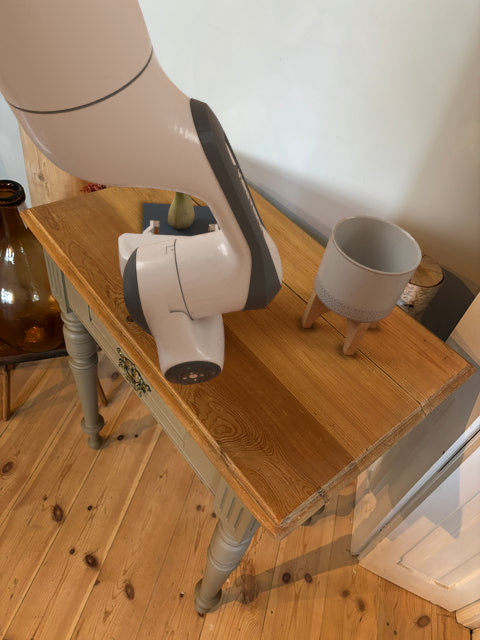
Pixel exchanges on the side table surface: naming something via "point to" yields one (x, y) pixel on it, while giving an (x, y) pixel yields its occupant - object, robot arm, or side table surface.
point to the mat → (160, 214)
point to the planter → (362, 274)
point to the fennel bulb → (181, 211)
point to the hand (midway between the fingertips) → (184, 225)
